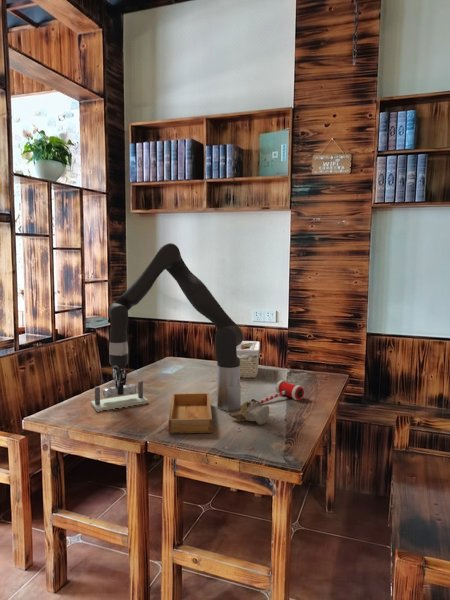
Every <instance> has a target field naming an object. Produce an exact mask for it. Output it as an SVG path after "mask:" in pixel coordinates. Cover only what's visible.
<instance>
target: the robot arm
mask: <svg viewBox="0 0 450 600" xmlns="http://www.w3.org/2000/svg"><path fill="white" fill-rule="evenodd" d="M165 270H166V272H168V274H169V275H170V276H171V277H172V278H173V279H174V280H175V282H176V283H177V285H178V286H179V288H180V290H181V291H182V293H183V294H184V296H185V297H186V299H187V300H188V302H189V303H190V305H191V306H192V307H193V309H195V310H196V311H197V312H198V313H199V314H200V315H202V316H203V317H204V318H206V319H208V320H209V321H210V322H211V323H212V324H213V325H214V326H215V328H216V329H217V331H216V333H215V335H214V336H215V337H214V351H215V352H214V356H215V360H216V362H217V363H216V364H217V365H216V366H217V367H216V368H217V370H216V371H217V372H216V375H217V376H216V384H217V386H216V387H217V388H216V398H217V399H216V405H217V406H216V407H217V408H218V409H220V410H224V411H228V412H229V411H234V410H239V409H240V410H241V406H242V404H241V403H242V402H241V397H242V396H241V395H242V393H241V392H242V391H241V388H242V386H241V377H240V358H239V357H237V348H236V346H238V345H240V344H241V342H242V341H244V334H243V331H242V329H241V327H240V326H238V325H237V323H236V322H235V321H234V320H233V319H232V318H231V317H230V316H229V314H227V313H226V311H225V310H224V309H223V308H222V306H221V305H220V303H219V302H218V301H217V299H216V298H215V297H214V295H213V294H212V292H211V291H210V290H209V288H208V287H207V286H206V284H205V283H204V282H203V281H202V280H201V279H199V278H198V277H197V276H196V275H195V274H193V272H192V271H191V270H190V269H189V268H188V266H187V265H186V262H185V261H184V259H183V258H182V255H181V252H180V248H179V247H178V245H176V244H174V243H171V242H169V243H164V244H163V245H162V246H161V247H160V248H159V249H158V251H157V252H156V254H155V255H154V256H153V258H152V260H151V261H150V262H149V264H148V265H147V266H146V268H145V269H144V270H143V271H142V273H141V274H140V275H139V276H138V277H137V278H136V280H134V281H133V282H132V284H131V285H130V286H129V287H127V289H126V290H125V291H124V292H123V294H121V295H120V296H119V297H118V298H116V299H115V300H114V301H113V302H112V303H111V304H110V305H109V307H108V308H107V314H108V316H109V319H110V329H109V345H108V351H109V353H108V357H109V364H110V365H111V372H112V373H111V374H112V379H113V382H114V384H115V385H114V387H117V386H118V395H120V396H124V395H123V394H124V388H123V386H124V385H127V384H126V383H127V377H128V376H127V372H126V368H125V365H128V363H129V346H128V345H129V344H128V323H129V310H130V309H132V308H133V307H134V306H136V305H138V304H139V303H140V302H141V301H142V300H143V299H144V297H146V295H147V294H148V293H149V291H150V290H151V289H152V287H153V285H154V284H155V282H156V281H157V279H158V278H159V276H161V274H162V273H163V272H164V271H165Z"/></svg>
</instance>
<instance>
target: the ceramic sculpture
mask: <svg viewBox="0 0 450 600" xmlns="http://www.w3.org/2000/svg"><path fill="white" fill-rule="evenodd" d="M258 401H259V400H256V399H255V398H251V400H249V401H245V402H243V404H241V408H240V410H239V411H236V412H234V413H228V415H229V416H230V417H231V418H233V419H236V421H237V420H239V421H242V420H244V421H246V422H256V423H257V425H259V426H260V425H264V424H266V422H267V421H268V420H269V416H270V406H269V405H266V406H265V405H264V406H262V405H261V404H260V405H259V403H258Z"/></svg>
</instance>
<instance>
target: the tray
mask: <svg viewBox="0 0 450 600" xmlns="http://www.w3.org/2000/svg"><path fill="white" fill-rule="evenodd" d="M210 398H211V396H210V392H197V393H195V392H194V393H193V392H192V393H189V392H188V393H187V392H186V393H172V395H171V401H170V408H169V413H168V414H169V415H168V434H170V435H171V434H172V435H173V434H209V433H211V434H212V433H213V417H212V408H211V407H212V406H211V399H210Z"/></svg>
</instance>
